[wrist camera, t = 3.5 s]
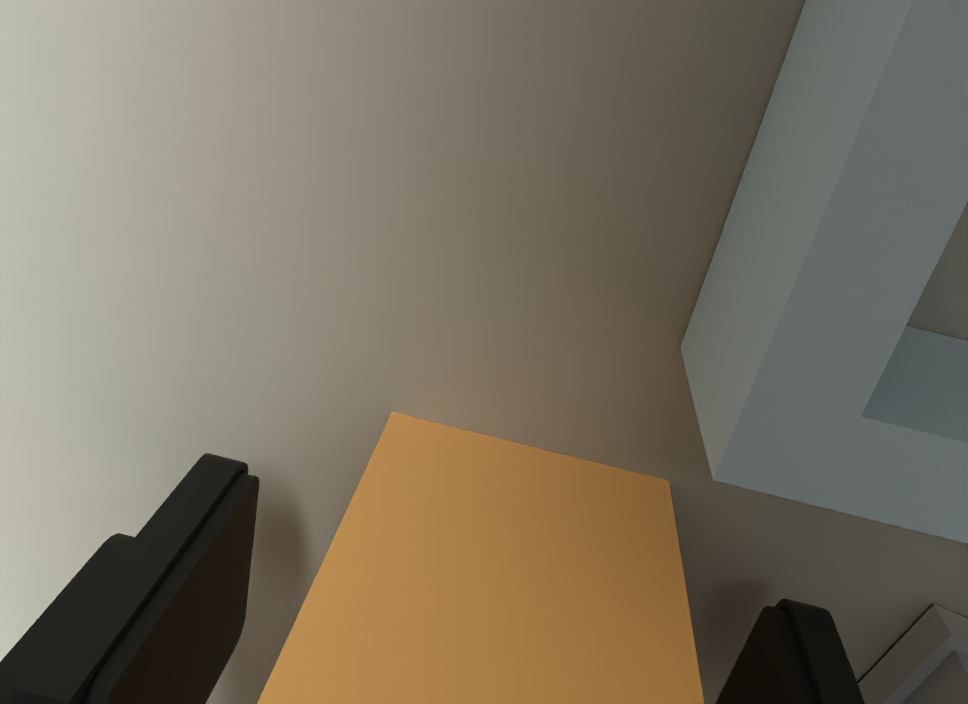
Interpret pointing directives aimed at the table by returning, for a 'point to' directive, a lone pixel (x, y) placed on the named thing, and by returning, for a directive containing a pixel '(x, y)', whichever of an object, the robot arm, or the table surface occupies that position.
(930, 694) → the clip
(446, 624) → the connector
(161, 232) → the table surface
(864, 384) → the frame
